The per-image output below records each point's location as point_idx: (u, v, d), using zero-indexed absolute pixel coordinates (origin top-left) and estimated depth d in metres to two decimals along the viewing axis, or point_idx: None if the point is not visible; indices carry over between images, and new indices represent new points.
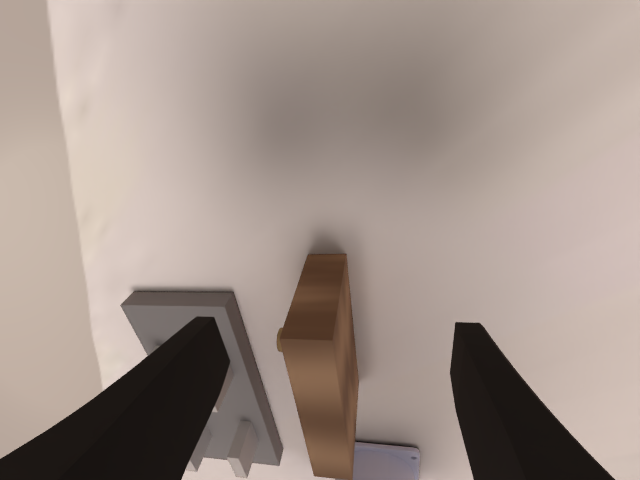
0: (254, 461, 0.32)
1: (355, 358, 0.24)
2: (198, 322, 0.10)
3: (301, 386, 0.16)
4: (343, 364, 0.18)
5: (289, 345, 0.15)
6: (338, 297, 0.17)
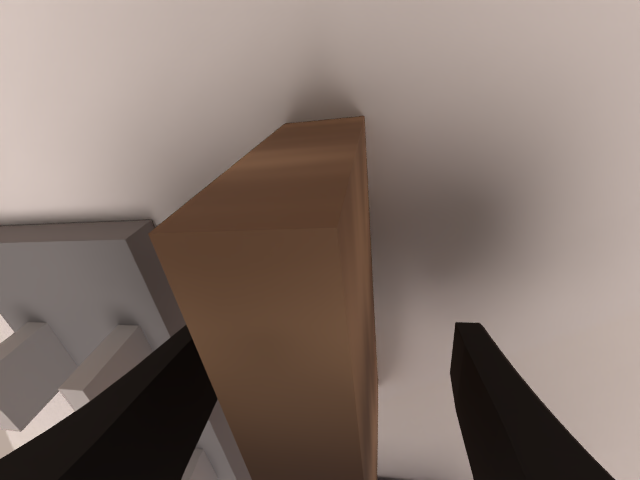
0: None
1: (375, 344, 0.13)
2: None
3: (245, 400, 0.06)
4: (362, 342, 0.07)
5: (187, 260, 0.04)
6: (352, 156, 0.06)
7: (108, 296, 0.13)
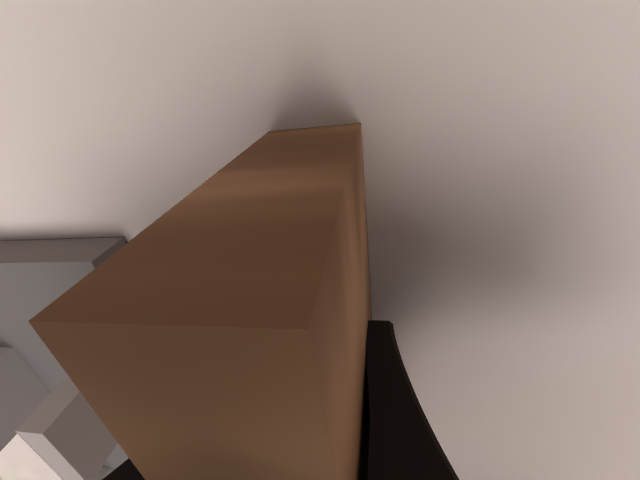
0: None
1: None
2: None
3: None
4: (357, 413, 0.06)
5: (90, 356, 0.03)
6: (342, 183, 0.05)
7: None
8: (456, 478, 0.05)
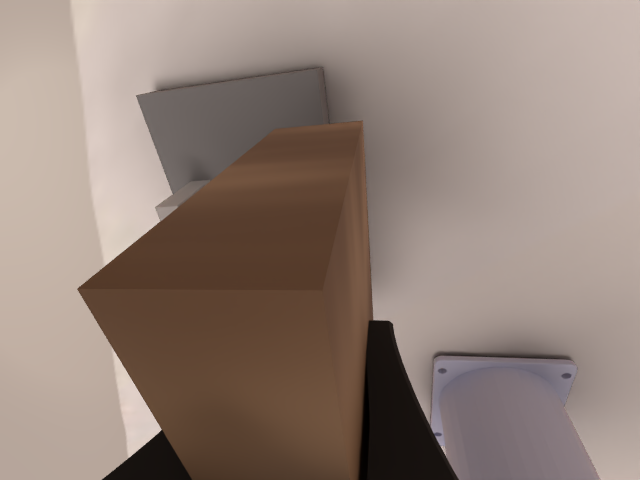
0: None
1: None
2: None
3: (218, 471, 0.05)
4: (360, 389, 0.06)
5: (130, 321, 0.03)
6: (347, 174, 0.05)
7: None
8: (456, 477, 0.05)
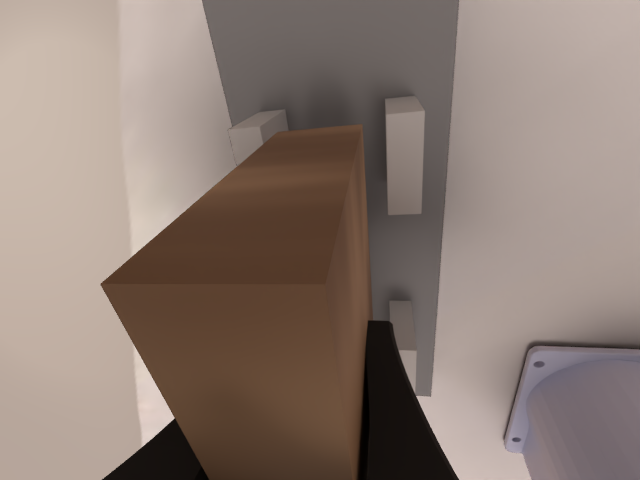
0: None
1: None
2: None
3: (226, 457, 0.05)
4: (360, 381, 0.06)
5: (148, 313, 0.04)
6: (347, 177, 0.05)
7: (393, 47, 0.11)
8: (457, 478, 0.05)
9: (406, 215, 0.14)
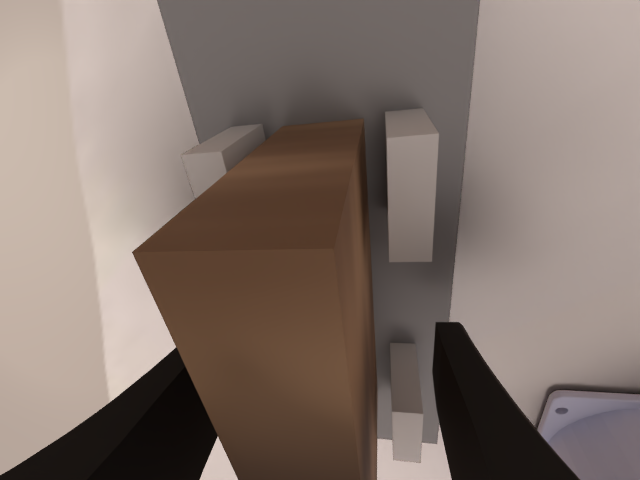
0: (387, 435, 0.17)
1: None
2: None
3: (239, 421, 0.05)
4: (362, 357, 0.07)
5: (174, 280, 0.04)
6: (351, 164, 0.06)
7: (395, 47, 0.08)
8: None
9: None
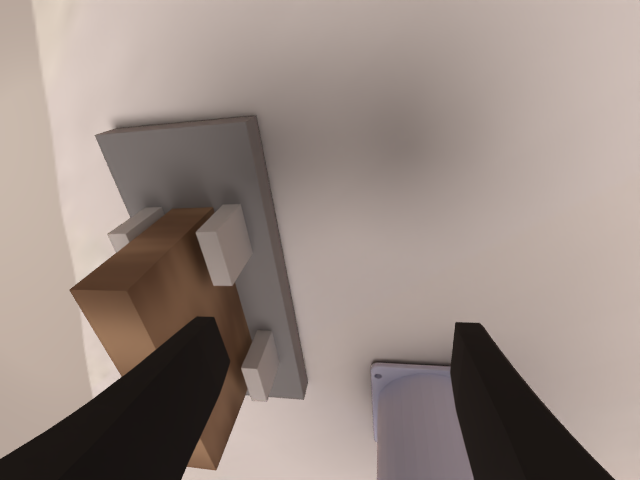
0: (272, 394, 0.25)
1: (245, 334, 0.21)
2: (198, 322, 0.10)
3: (118, 353, 0.14)
4: None
5: (83, 298, 0.12)
6: (169, 248, 0.14)
7: (220, 176, 0.17)
8: None
9: (254, 274, 0.19)
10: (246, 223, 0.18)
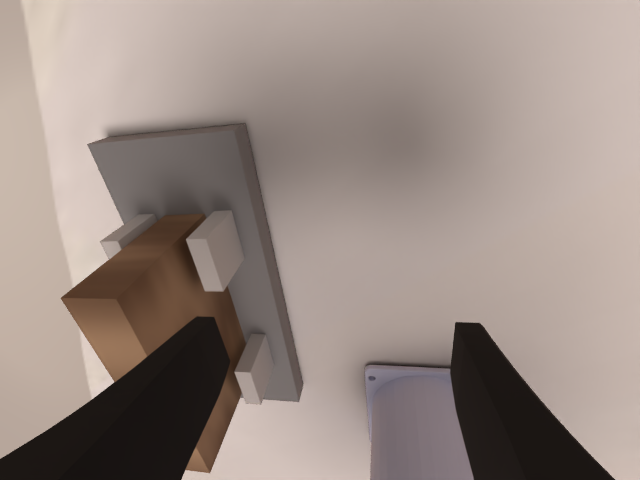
0: (267, 397, 0.25)
1: (239, 338, 0.22)
2: (198, 322, 0.10)
3: (110, 359, 0.14)
4: None
5: (74, 306, 0.12)
6: (160, 255, 0.14)
7: (211, 183, 0.17)
8: None
9: (246, 279, 0.20)
10: (237, 229, 0.18)
